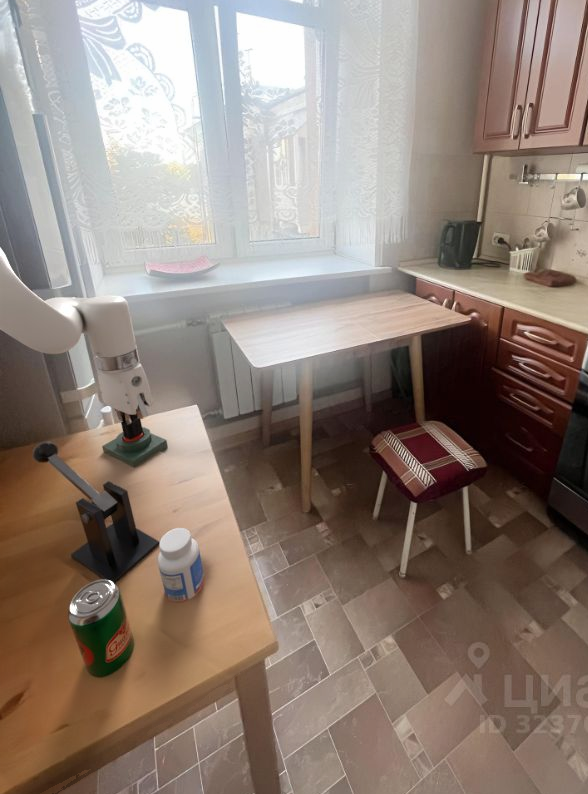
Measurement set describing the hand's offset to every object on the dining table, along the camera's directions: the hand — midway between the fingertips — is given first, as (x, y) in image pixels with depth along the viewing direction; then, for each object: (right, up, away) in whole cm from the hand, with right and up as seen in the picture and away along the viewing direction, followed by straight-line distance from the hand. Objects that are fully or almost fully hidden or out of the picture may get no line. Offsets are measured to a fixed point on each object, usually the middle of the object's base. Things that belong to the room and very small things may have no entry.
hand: (133, 435), depth 84 cm
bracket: (+10, -14, -21) cm, 27 cm away
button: (0, -2, +1) cm, 2 cm away
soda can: (+18, -20, -35) cm, 44 cm away
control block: (0, -4, +2) cm, 4 cm away
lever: (+4, -2, -23) cm, 23 cm away
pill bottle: (+23, -16, -26) cm, 38 cm away
